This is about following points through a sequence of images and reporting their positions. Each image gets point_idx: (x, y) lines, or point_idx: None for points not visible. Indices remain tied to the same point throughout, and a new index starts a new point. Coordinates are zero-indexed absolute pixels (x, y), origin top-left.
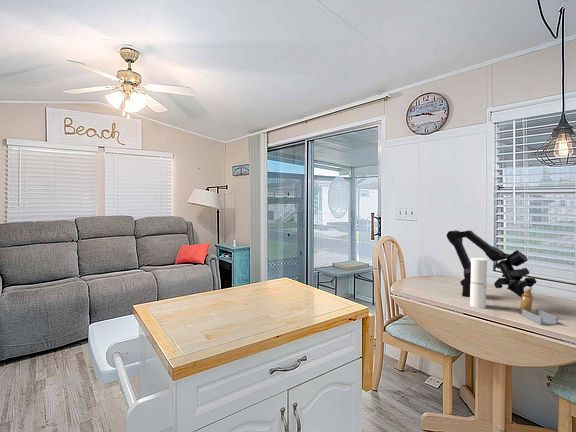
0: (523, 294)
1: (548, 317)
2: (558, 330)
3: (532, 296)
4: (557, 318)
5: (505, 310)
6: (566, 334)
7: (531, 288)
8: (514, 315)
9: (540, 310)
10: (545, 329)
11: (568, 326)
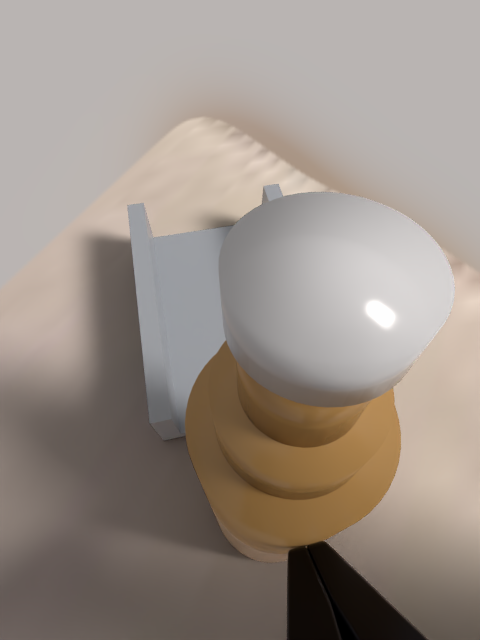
0: (358, 484)
1: (157, 285)
2: (208, 164)
3: (196, 400)
4: (132, 210)
5: (465, 596)
6: (201, 126)
7: (265, 217)
8: (401, 410)
9: (151, 379)
10: (280, 167)
11: (84, 229)
